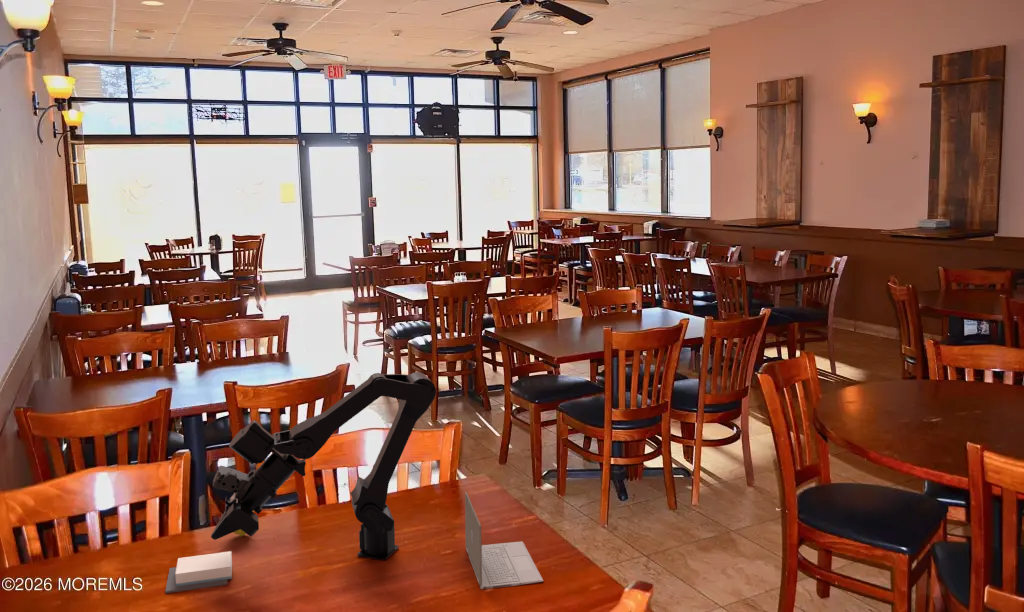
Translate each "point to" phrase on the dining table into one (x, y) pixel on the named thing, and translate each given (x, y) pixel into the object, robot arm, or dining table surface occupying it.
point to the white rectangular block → (204, 568)
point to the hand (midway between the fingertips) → (212, 537)
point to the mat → (173, 588)
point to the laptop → (497, 557)
